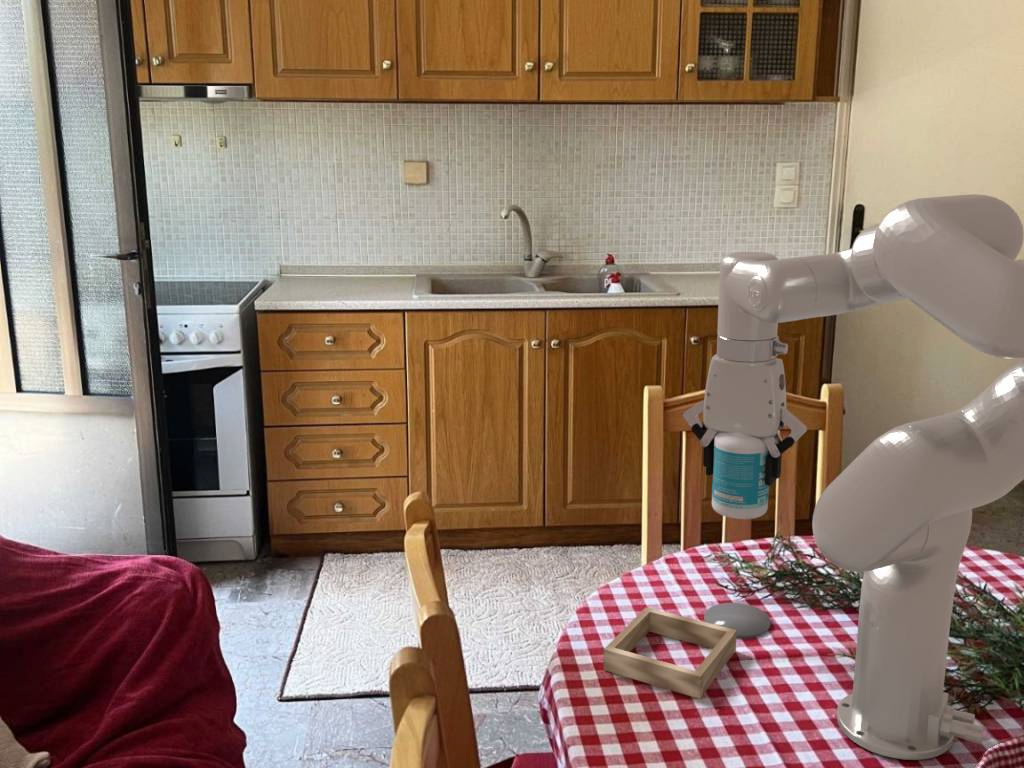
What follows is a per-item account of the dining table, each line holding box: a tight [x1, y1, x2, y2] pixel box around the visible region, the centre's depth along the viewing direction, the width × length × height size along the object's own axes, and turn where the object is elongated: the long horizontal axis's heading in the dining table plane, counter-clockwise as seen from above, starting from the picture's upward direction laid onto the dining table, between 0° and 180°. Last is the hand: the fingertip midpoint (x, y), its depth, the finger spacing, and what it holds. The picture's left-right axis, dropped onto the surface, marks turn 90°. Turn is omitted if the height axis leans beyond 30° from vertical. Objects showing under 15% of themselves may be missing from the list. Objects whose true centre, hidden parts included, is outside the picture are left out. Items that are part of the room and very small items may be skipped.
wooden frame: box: [603, 606, 738, 700], centre depth 130 cm, size 13×13×3 cm
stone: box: [703, 602, 771, 639], centre depth 140 cm, size 9×9×1 cm
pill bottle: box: [711, 423, 770, 520], centre depth 133 cm, size 8×7×14 cm
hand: (741, 476), depth 134 cm, fingers closed on pill bottle, 7 cm apart
